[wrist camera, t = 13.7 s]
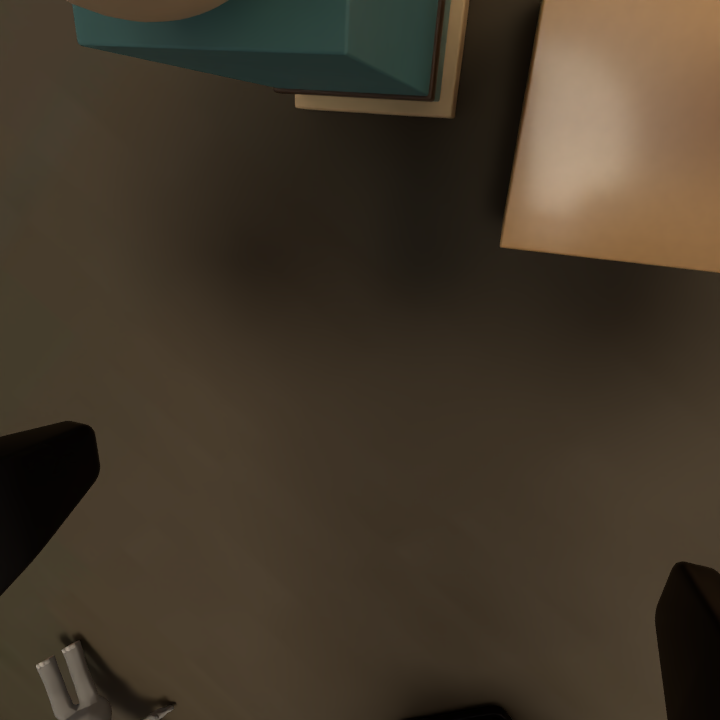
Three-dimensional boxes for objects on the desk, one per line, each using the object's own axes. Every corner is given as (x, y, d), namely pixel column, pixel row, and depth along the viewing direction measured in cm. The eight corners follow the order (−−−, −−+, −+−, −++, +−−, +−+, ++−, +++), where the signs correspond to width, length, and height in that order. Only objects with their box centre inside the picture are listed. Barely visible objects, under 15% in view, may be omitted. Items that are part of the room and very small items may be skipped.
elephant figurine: (126, 620, 32) (181, 766, 30) (145, 600, 37) (192, 723, 36) (-53, 712, 29) (0, 878, 28) (-3, 676, 35) (43, 812, 33)
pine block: (741, 244, 15) (831, 286, 11) (502, 219, 17) (499, 247, 13) (830, 4, 13) (991, -63, 9) (541, 1, 14) (553, -58, 10)
